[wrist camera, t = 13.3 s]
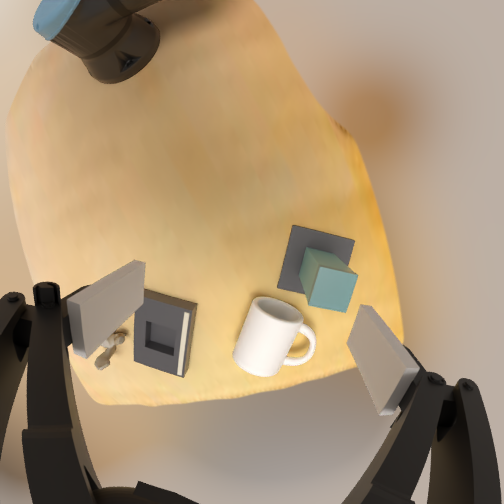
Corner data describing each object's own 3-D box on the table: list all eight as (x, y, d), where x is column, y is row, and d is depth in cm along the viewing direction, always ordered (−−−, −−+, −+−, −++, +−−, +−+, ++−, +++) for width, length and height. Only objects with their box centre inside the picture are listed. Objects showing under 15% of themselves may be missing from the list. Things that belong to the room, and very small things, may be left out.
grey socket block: (143, 288, 44) (135, 294, 41) (197, 303, 44) (192, 311, 41) (140, 353, 47) (133, 361, 44) (188, 368, 47) (183, 378, 44)
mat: (292, 224, 40) (293, 225, 40) (354, 240, 40) (354, 240, 40) (277, 287, 42) (277, 288, 42) (336, 299, 42) (337, 300, 42)
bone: (105, 308, 44) (99, 353, 36) (133, 323, 48) (131, 367, 40) (88, 329, 46) (82, 371, 38) (114, 341, 50) (111, 382, 42)
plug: (298, 275, 41) (308, 305, 29) (306, 246, 40) (319, 266, 28) (326, 281, 41) (345, 312, 29) (334, 253, 40) (358, 275, 28)
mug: (235, 341, 45) (228, 367, 37) (254, 290, 43) (250, 311, 35) (299, 361, 45) (303, 388, 37) (323, 313, 43) (333, 336, 35)
